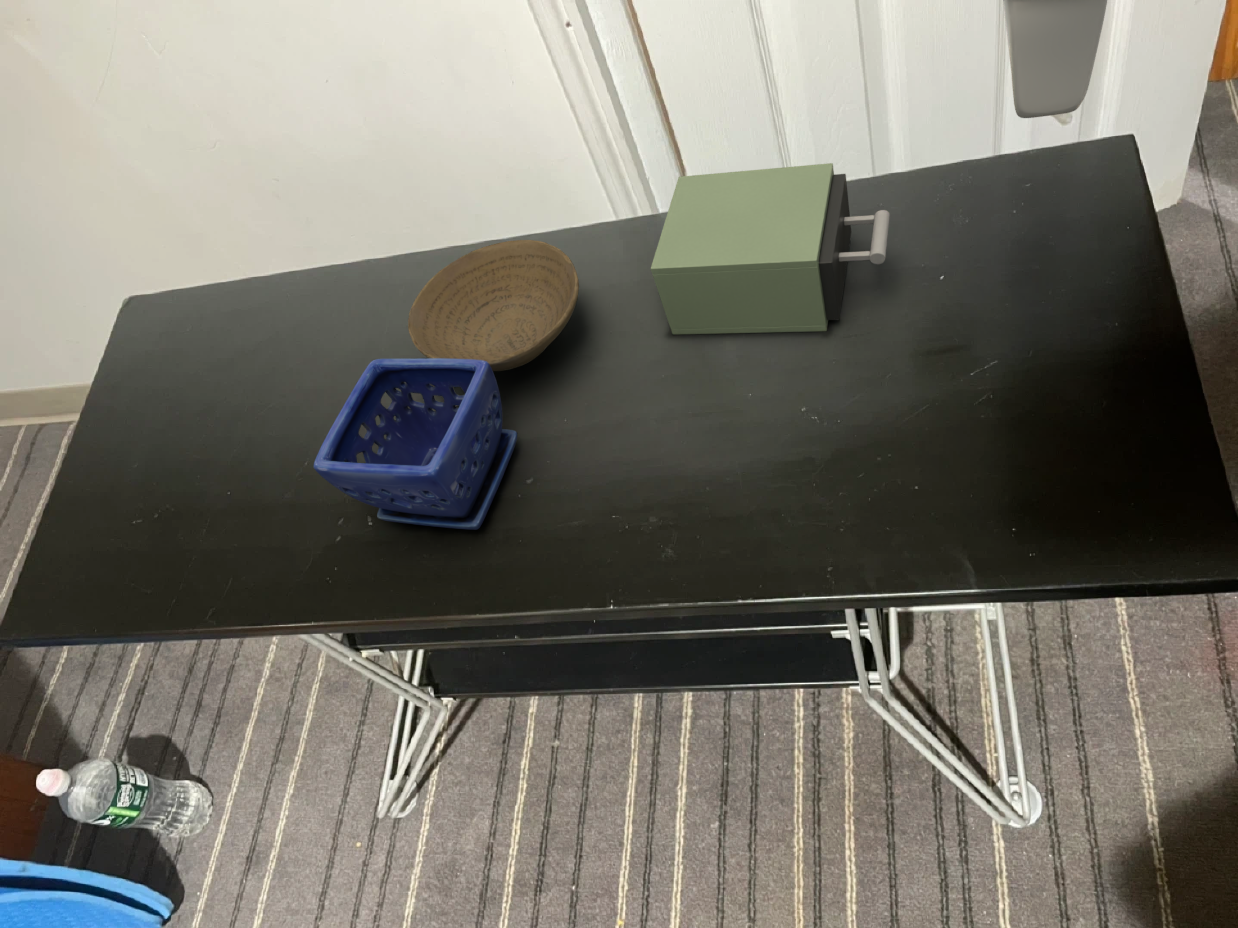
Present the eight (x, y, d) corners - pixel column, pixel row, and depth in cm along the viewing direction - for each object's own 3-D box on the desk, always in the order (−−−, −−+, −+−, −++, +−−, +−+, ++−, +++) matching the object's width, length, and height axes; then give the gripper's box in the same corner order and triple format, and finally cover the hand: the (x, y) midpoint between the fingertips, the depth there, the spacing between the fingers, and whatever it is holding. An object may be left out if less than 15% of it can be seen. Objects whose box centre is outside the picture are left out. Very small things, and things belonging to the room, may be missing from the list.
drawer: (894, 229, 90) (891, 169, 84) (885, 318, 83) (881, 260, 78) (714, 240, 97) (700, 185, 91) (693, 323, 90) (676, 270, 84)
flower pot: (423, 430, 93) (367, 353, 84) (536, 435, 88) (489, 354, 79) (372, 538, 86) (305, 468, 77) (491, 551, 81) (434, 477, 72)
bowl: (603, 275, 100) (581, 219, 94) (595, 400, 89) (569, 346, 83) (452, 306, 104) (421, 254, 98) (427, 428, 93) (391, 378, 87)
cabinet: (840, 235, 93) (832, 162, 86) (826, 331, 86) (816, 260, 79) (697, 244, 99) (678, 176, 92) (672, 334, 91) (650, 268, 84)
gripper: (981, -181, 58) (975, 21, 69) (999, -20, 47) (988, 192, 58) (1089, -206, 56) (1065, 6, 67) (1134, -44, 45) (1097, 180, 56)
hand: (1029, 94), depth 62 cm, fingers closed
